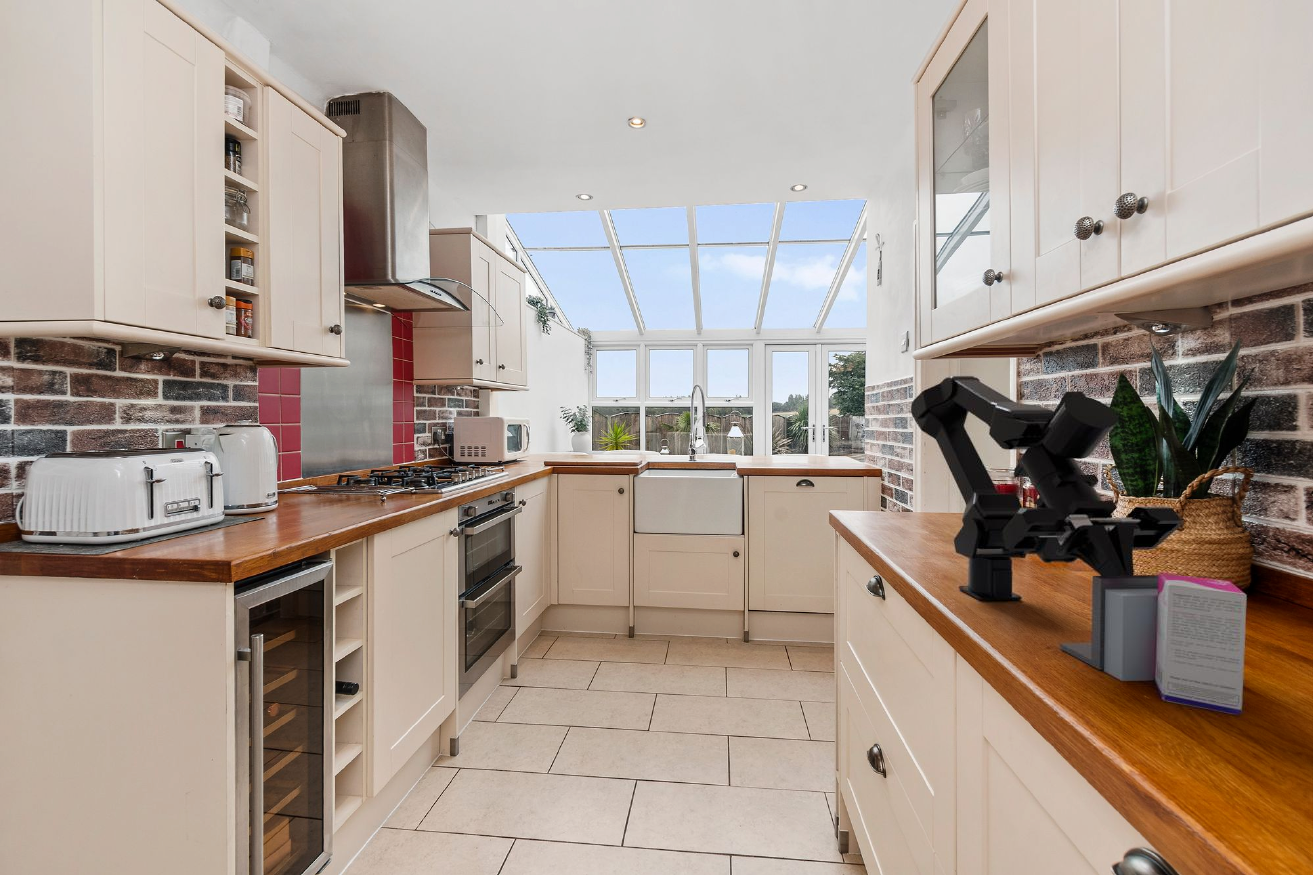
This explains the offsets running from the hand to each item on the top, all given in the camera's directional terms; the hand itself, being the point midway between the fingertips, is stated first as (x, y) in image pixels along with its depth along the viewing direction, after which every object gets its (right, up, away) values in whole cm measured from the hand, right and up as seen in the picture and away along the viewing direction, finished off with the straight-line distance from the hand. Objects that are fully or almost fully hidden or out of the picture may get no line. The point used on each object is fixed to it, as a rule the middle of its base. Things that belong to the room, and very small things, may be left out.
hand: (1128, 591), depth 66 cm
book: (0, -8, -3) cm, 9 cm away
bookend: (0, -8, +2) cm, 8 cm away
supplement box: (+1, -9, -8) cm, 12 cm away
